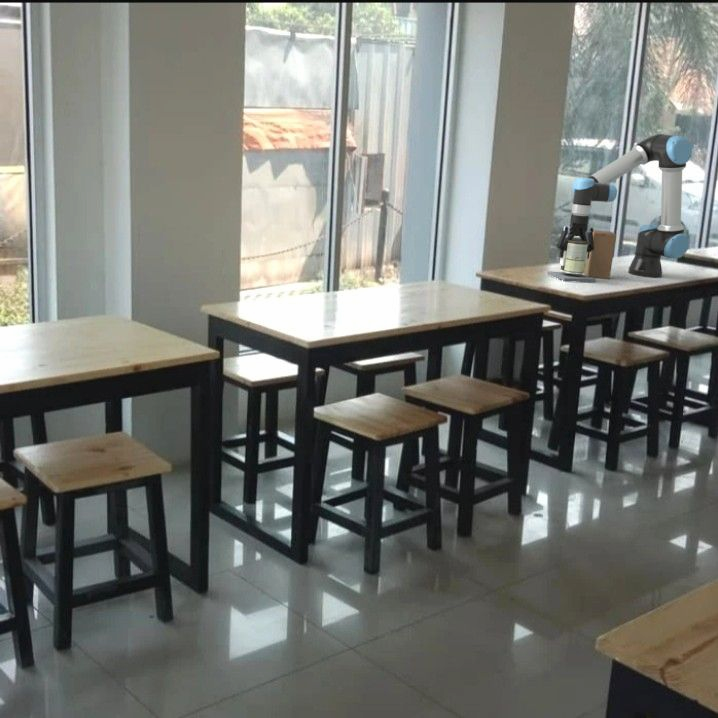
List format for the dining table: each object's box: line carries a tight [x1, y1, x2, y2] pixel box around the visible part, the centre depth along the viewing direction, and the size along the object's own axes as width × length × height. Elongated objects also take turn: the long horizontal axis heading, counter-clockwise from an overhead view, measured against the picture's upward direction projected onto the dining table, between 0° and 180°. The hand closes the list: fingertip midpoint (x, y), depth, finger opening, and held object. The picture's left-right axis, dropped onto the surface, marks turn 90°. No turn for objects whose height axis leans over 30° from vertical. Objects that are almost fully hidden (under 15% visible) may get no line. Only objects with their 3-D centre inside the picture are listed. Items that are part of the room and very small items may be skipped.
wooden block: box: [583, 229, 617, 280], centre depth 462 cm, size 10×10×20 cm
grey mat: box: [546, 271, 596, 284], centre depth 452 cm, size 15×15×2 cm
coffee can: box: [559, 237, 589, 275], centre depth 449 cm, size 10×10×14 cm
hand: (572, 265), depth 450 cm, fingers closed on coffee can, 10 cm apart
